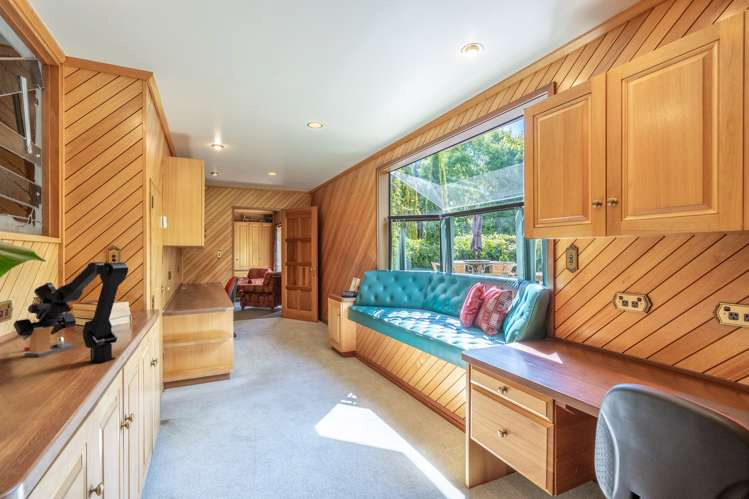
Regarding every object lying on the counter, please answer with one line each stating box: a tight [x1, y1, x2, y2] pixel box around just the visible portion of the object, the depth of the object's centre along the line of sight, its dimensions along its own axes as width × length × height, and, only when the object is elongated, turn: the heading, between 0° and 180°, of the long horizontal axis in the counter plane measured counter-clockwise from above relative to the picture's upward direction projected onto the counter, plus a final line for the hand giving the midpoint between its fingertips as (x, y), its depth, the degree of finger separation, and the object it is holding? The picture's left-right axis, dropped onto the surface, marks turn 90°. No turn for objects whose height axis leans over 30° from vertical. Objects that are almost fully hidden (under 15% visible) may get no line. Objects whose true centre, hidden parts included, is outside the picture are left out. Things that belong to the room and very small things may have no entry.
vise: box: [24, 336, 75, 358], centre depth 149 cm, size 7×14×5 cm, turn 170°
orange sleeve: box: [29, 327, 51, 353], centre depth 145 cm, size 5×5×10 cm
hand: (37, 336), depth 146 cm, fingers open, 9 cm apart
